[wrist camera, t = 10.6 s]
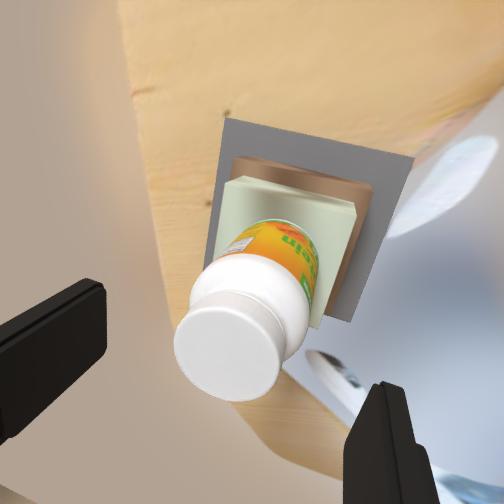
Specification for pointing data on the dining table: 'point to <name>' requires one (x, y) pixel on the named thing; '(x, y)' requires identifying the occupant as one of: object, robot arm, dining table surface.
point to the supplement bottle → (249, 311)
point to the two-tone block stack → (298, 215)
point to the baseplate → (325, 161)
